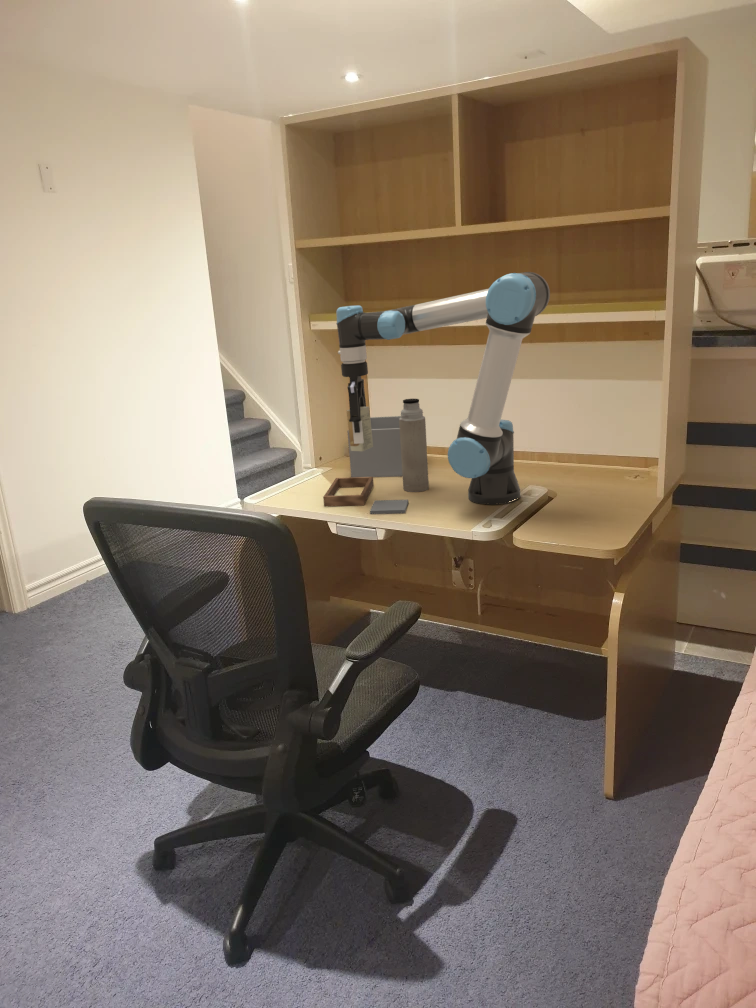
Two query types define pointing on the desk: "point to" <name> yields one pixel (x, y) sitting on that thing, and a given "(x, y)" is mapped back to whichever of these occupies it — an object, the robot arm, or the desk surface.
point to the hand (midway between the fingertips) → (361, 440)
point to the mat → (389, 506)
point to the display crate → (379, 451)
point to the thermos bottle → (413, 447)
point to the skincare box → (366, 431)
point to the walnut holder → (348, 499)
